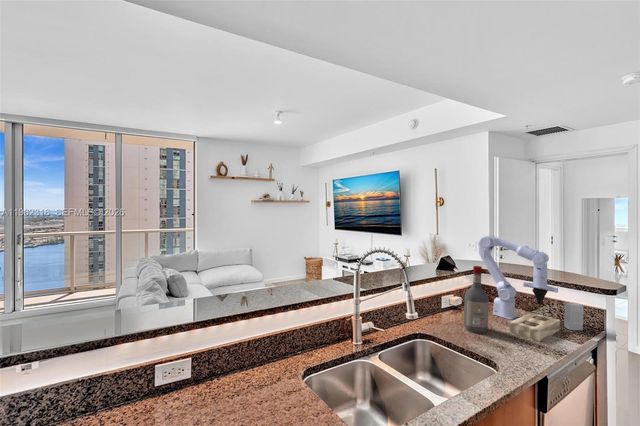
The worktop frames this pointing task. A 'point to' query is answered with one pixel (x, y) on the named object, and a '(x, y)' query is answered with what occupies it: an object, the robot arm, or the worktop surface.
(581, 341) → the worktop surface
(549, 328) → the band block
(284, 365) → the worktop surface
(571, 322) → the skincare box
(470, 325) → the liquor
